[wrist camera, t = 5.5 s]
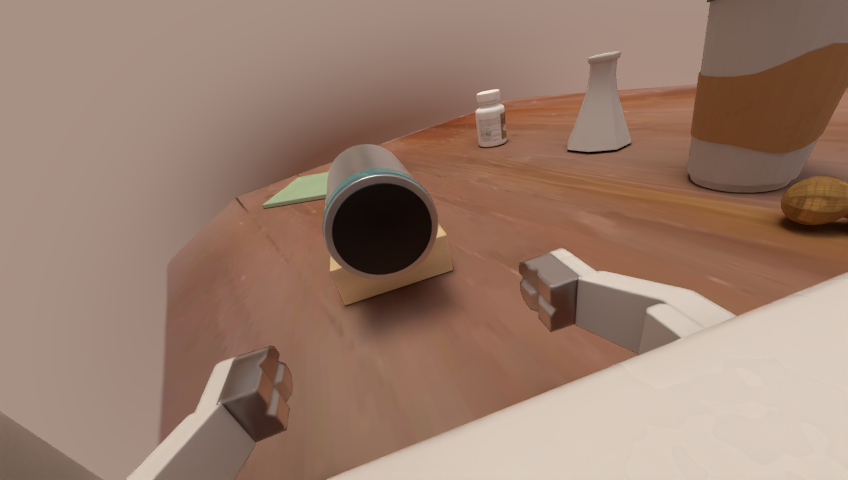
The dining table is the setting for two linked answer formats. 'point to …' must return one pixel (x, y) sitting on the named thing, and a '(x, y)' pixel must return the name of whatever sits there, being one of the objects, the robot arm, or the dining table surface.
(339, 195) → the tumbler
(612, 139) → the flask
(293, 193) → the mat
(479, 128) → the pill bottle
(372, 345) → the dining table surface
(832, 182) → the tap handle
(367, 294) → the plate
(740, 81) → the coffee cup
